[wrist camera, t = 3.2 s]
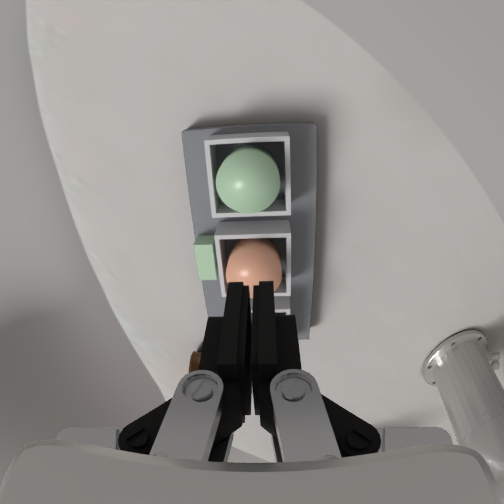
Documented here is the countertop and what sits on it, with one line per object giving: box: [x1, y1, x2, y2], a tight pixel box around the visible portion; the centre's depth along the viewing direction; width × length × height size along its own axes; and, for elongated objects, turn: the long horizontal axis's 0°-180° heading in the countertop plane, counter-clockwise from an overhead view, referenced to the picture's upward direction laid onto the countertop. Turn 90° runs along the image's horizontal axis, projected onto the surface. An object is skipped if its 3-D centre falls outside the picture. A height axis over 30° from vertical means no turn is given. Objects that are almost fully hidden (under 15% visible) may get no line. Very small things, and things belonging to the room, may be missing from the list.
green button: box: [216, 145, 280, 213], centre depth 26 cm, size 5×5×3 cm
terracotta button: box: [226, 238, 282, 299], centre depth 30 cm, size 5×5×3 cm
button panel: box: [182, 123, 317, 340], centre depth 32 cm, size 25×12×5 cm, turn 3°
